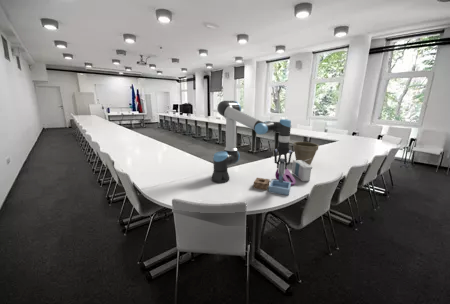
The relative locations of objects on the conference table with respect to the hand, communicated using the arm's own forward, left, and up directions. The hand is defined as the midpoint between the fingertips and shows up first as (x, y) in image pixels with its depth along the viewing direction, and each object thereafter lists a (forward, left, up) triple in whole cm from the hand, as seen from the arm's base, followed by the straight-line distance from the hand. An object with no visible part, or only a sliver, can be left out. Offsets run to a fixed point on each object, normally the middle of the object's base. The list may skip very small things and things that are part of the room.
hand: (281, 172), depth 145 cm
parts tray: (0, 0, -13) cm, 13 cm away
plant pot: (+14, +80, -14) cm, 82 cm away
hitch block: (-14, 0, -13) cm, 20 cm away
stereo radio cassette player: (+13, +34, -14) cm, 39 cm away
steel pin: (0, 0, -7) cm, 7 cm away
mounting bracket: (+2, +19, -14) cm, 24 cm away
